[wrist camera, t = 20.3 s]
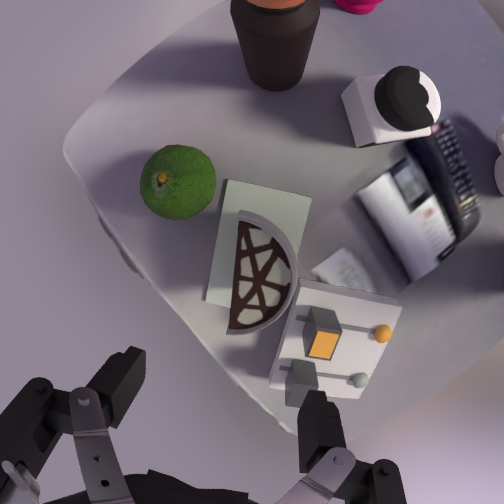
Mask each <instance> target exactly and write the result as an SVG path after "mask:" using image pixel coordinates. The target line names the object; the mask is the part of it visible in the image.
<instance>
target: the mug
mask: <svg viewBox="0 0 504 504" xmlns="http://www.w3.org/2000/svg"><path fill="white" fill-rule="evenodd" d="M503 135H504V125H502V126H500V127H499V129H498V130H497V133H496V142H497V146H498V148H499V150H500V152H501V155H500V156H499V157H498V158H497V160H496V162H495V167H494V176H495V181H496V184H497V187H498V189H499V191H500V192H501V193H502V194H503V196H504V137H503Z"/></svg>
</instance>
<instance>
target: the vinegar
mask: <svg viewBox="0 0 504 504" xmlns="http://www.w3.org/2000/svg"><path fill="white" fill-rule="evenodd" d="M230 13H231V16H232V20H233V23H234V26H235V29H236V33H237V36H238V40H239V43H240V46H241V50H242V53H243V57H244V60H245V64H246V67H247V71H248V73H249V76H250V78H251V79H252V80H253V82H254V83H255V84H256V85H258V86H260V87H261V88H263V89H266V90H270V91H283V90H286V89H290V88H291V87H293V86H294V85H296V84H297V83H298V82H299V80H300V79H301V78H302V75H303V72H304V68H305V65H306V61H307V58H308V54H309V51H310V47H311V44H312V40H313V37H314V33H315V29H316V26H317V22H318V19H319V15H320V7H319V2H318V0H231V9H230Z"/></svg>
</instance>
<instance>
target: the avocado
mask: <svg viewBox="0 0 504 504" xmlns="http://www.w3.org/2000/svg"><path fill="white" fill-rule="evenodd" d="M215 186H216V179H215V170H214V168H213V165H212V163H211V160H210V158H209V157H208V156H206V155H205V154H204V153H203V152H202V151H200V150H198V149H196V148H194V147H189V146H183V145H167V146H165V147H164V148H162V149H161V150H159V151H157V152H156V153H155V154H154V155H153V156H152V157H151V158H150V159H149V161H148V162H147V163H146V164H145V166H144V169H143V172H142V176H141V181H140V193H141V195H142V198H143V200H144V202H145V204H146V205H147V206H148V207H149V208H150V209H151V210H152V211H153V212H154V213H156V214H158V215H159V216H161V217H164V218H168V219H172V220H178V219H186V218H189V217H191V216H193V215H195V214H197V213H199V212H200V211H202V210H203V209H204V208H205V207H206V206H207V205H208V204H209V203H210V202H211V200H212V198H213V195H214V190H215Z"/></svg>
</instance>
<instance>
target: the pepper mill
mask: <svg viewBox="0 0 504 504" xmlns="http://www.w3.org/2000/svg"><path fill="white" fill-rule="evenodd" d="M382 1H383V0H334V2H335V3H336V4H337V5H338V6H339V7H341V8H342V9H344V10H346V11H348V12H350V13H354V14H367V13H370V12H371V11H372V10H373V9H374V8H375V6H376V4H377V3H380V2H382Z"/></svg>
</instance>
